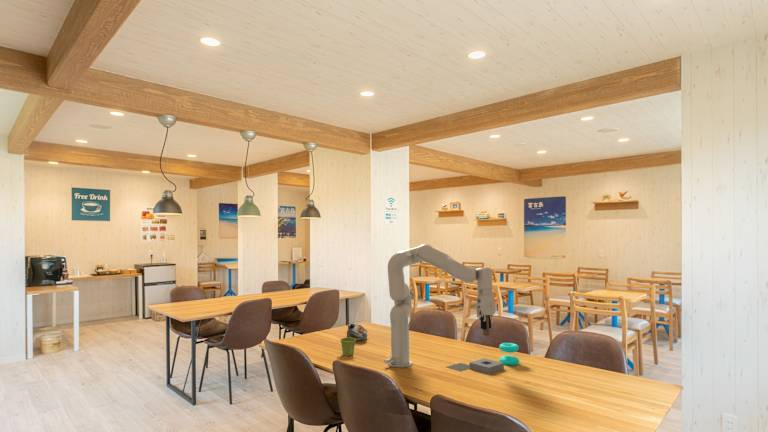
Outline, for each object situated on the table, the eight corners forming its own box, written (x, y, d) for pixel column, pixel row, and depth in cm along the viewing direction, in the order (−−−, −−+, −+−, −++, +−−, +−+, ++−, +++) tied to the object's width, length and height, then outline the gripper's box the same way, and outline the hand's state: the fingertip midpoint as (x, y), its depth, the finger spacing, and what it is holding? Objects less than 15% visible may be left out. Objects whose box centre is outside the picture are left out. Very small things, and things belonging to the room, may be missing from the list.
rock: (370, 337, 296) (372, 321, 290) (362, 348, 286) (364, 331, 280) (351, 330, 301) (352, 313, 295) (342, 340, 291) (343, 323, 285)
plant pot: (357, 352, 258) (357, 337, 259) (354, 357, 249) (354, 341, 249) (341, 352, 259) (341, 337, 260) (338, 356, 250) (338, 341, 250)
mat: (460, 372, 218) (460, 371, 218) (445, 367, 226) (445, 367, 226) (475, 367, 226) (475, 366, 226) (460, 363, 233) (460, 362, 233)
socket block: (489, 375, 213) (489, 367, 214) (469, 369, 223) (469, 362, 223) (503, 370, 221) (503, 363, 221) (484, 365, 230) (484, 358, 230)
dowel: (486, 335, 221) (486, 313, 221) (481, 334, 223) (481, 312, 223) (490, 334, 222) (489, 312, 223) (485, 333, 225) (485, 312, 225)
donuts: (498, 341, 239) (517, 342, 237) (499, 360, 238) (518, 361, 236) (499, 346, 229) (519, 347, 227) (500, 365, 229) (520, 366, 227)
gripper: (480, 294, 216) (481, 332, 215) (500, 291, 226) (501, 327, 225) (468, 292, 221) (469, 329, 220) (488, 290, 232) (489, 325, 231)
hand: (486, 328), depth 223 cm, fingers closed on dowel, 3 cm apart
